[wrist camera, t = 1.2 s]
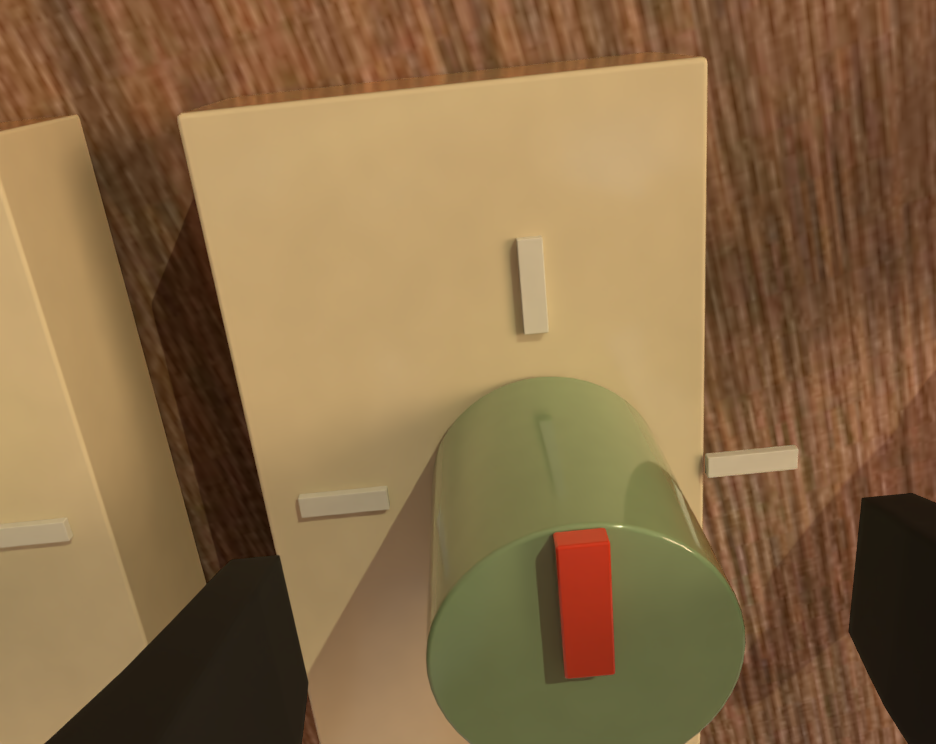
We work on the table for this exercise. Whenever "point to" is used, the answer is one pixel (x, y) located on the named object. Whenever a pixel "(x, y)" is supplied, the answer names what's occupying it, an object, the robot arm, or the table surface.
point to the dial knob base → (444, 316)
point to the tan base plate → (75, 446)
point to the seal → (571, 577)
